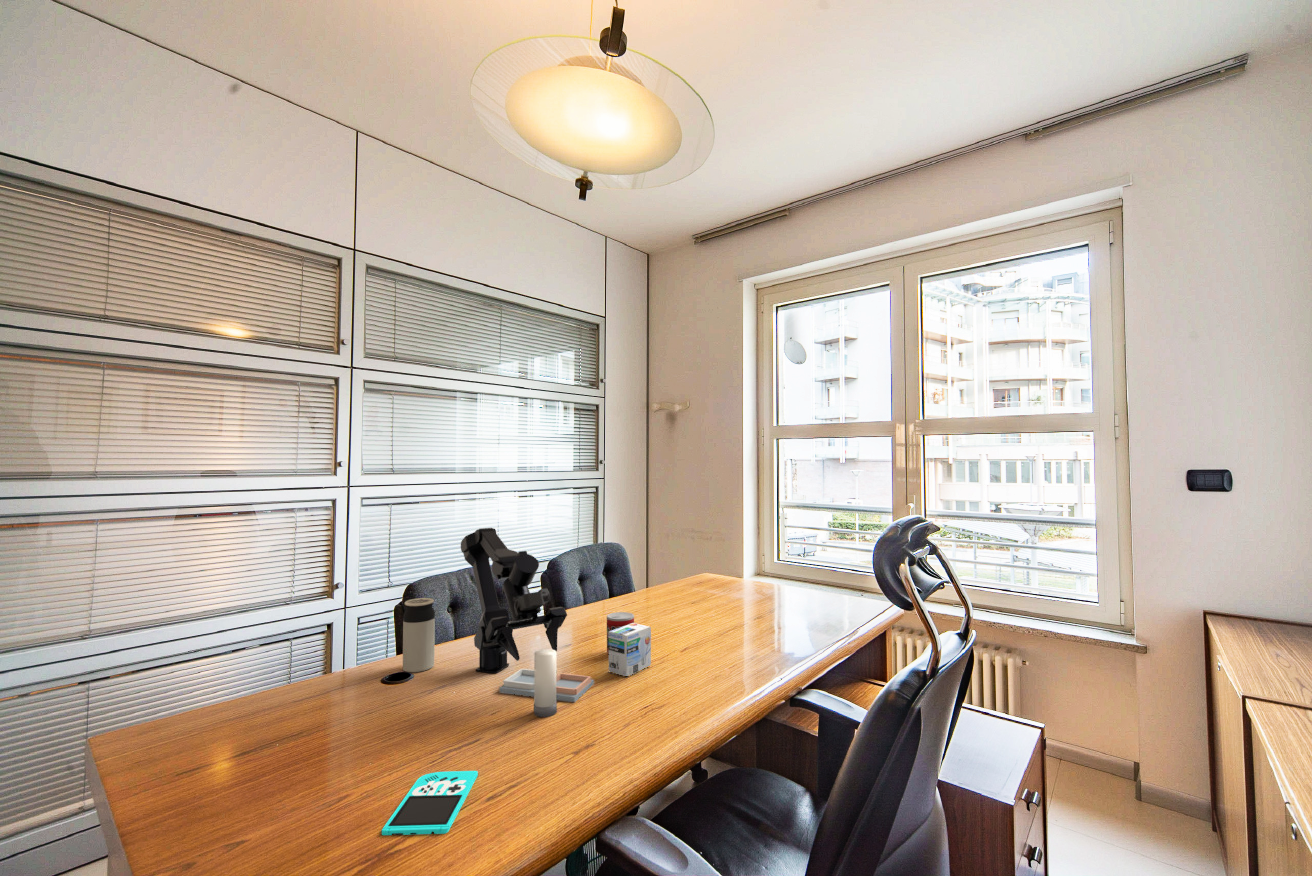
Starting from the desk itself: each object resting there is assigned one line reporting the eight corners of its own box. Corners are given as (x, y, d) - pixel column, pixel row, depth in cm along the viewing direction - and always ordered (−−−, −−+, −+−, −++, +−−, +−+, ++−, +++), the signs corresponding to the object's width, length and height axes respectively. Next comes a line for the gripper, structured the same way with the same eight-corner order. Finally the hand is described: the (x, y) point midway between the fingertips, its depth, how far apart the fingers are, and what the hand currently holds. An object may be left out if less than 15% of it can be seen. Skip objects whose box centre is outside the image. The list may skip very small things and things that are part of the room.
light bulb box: (626, 678, 143) (626, 635, 144) (607, 672, 147) (607, 631, 148) (652, 666, 151) (651, 626, 152) (633, 661, 156) (632, 622, 156)
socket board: (499, 692, 134) (499, 682, 135) (523, 676, 145) (523, 666, 145) (574, 702, 128) (574, 691, 128) (594, 684, 139) (594, 674, 139)
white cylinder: (529, 715, 122) (529, 655, 122) (540, 706, 127) (541, 648, 127) (549, 718, 120) (550, 657, 121) (560, 708, 125) (560, 650, 126)
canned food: (603, 651, 164) (603, 613, 164) (628, 647, 167) (628, 610, 168) (612, 659, 157) (612, 620, 157) (638, 655, 160) (638, 616, 161)
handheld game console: (479, 777, 99) (479, 769, 99) (448, 837, 83) (448, 827, 83) (422, 778, 98) (422, 770, 98) (380, 839, 82) (380, 829, 82)
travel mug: (426, 673, 148) (427, 604, 149) (397, 673, 148) (398, 604, 149) (439, 662, 156) (439, 597, 157) (410, 662, 156) (411, 597, 157)
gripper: (489, 583, 127) (507, 644, 118) (563, 573, 138) (585, 628, 129) (478, 611, 133) (494, 671, 124) (550, 599, 144) (569, 654, 135)
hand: (537, 655), depth 127 cm, fingers open, 9 cm apart
